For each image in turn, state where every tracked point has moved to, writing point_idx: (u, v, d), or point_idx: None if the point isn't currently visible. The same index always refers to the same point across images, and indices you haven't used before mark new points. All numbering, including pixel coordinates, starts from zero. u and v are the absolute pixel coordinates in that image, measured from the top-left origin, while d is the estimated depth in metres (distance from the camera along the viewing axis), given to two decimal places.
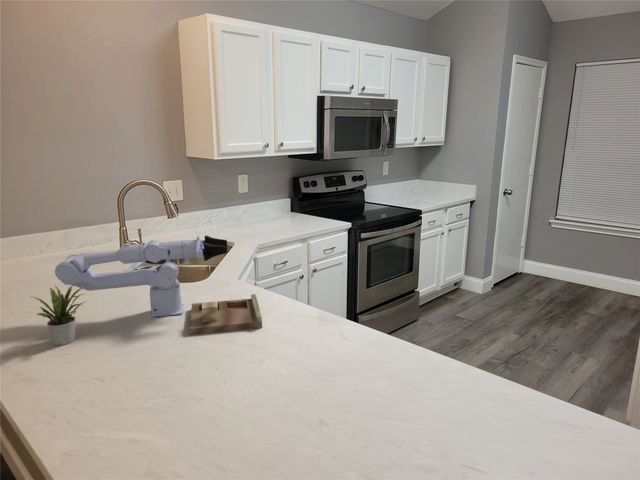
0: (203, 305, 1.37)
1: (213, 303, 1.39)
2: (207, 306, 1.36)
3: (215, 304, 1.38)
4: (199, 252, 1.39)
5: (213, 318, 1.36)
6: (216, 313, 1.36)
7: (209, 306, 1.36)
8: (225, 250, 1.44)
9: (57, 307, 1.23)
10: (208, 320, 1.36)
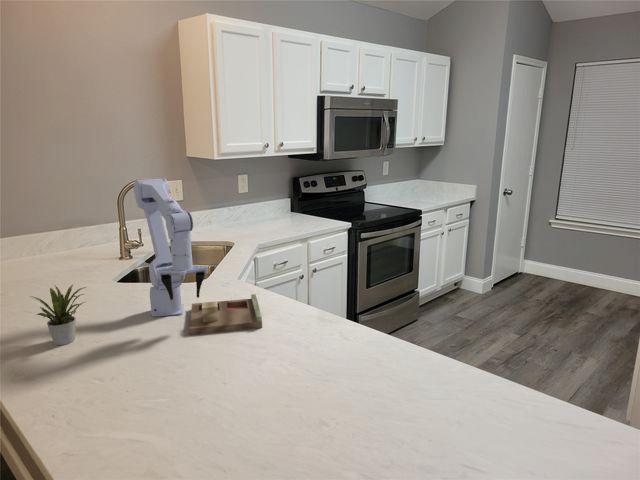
0: (203, 305, 1.37)
1: (213, 303, 1.39)
2: (207, 306, 1.36)
3: (215, 304, 1.38)
4: (156, 273, 1.31)
5: (213, 318, 1.36)
6: (216, 313, 1.36)
7: (209, 306, 1.36)
8: None
9: (57, 307, 1.23)
10: (208, 320, 1.36)
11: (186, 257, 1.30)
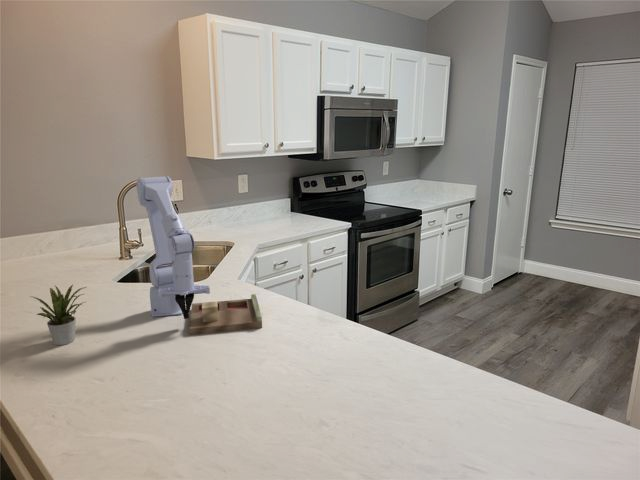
0: (203, 305, 1.37)
1: (213, 303, 1.39)
2: (207, 306, 1.36)
3: (215, 304, 1.38)
4: (158, 294, 1.33)
5: (213, 318, 1.36)
6: (216, 313, 1.36)
7: (209, 306, 1.36)
8: None
9: (57, 307, 1.23)
10: (208, 320, 1.36)
11: (188, 278, 1.32)
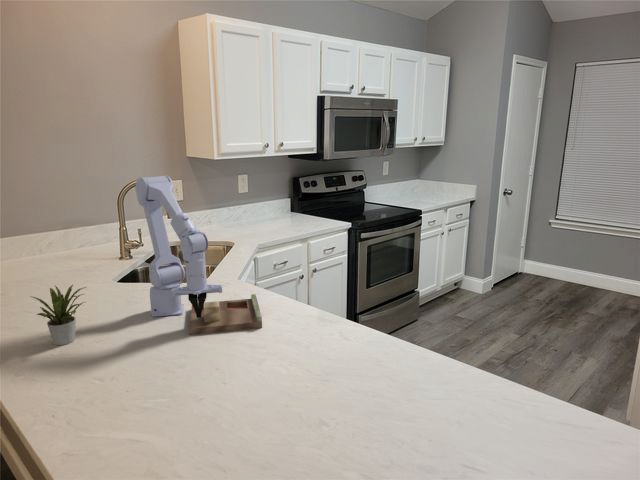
0: (205, 305, 1.37)
1: (215, 303, 1.39)
2: (209, 305, 1.36)
3: (217, 304, 1.38)
4: (171, 293, 1.33)
5: (215, 318, 1.37)
6: (218, 313, 1.36)
7: (211, 306, 1.36)
8: None
9: (57, 307, 1.23)
10: (210, 320, 1.36)
11: (201, 277, 1.33)
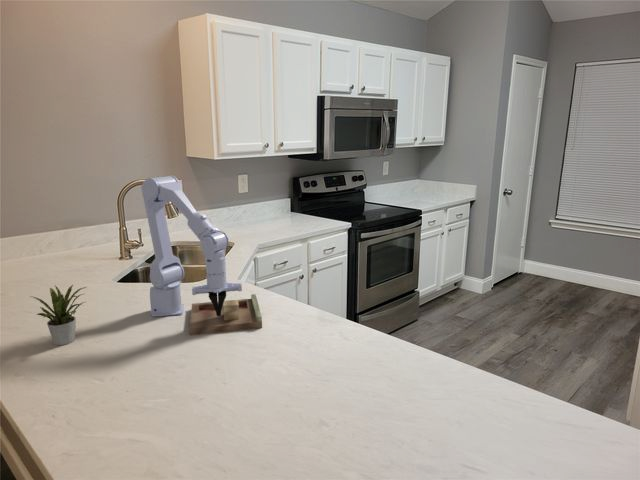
0: (224, 303, 1.38)
1: (234, 301, 1.40)
2: (229, 304, 1.38)
3: (236, 302, 1.39)
4: (192, 291, 1.35)
5: (234, 316, 1.38)
6: (237, 311, 1.38)
7: (230, 304, 1.38)
8: None
9: (57, 307, 1.23)
10: (229, 318, 1.38)
11: (221, 276, 1.34)
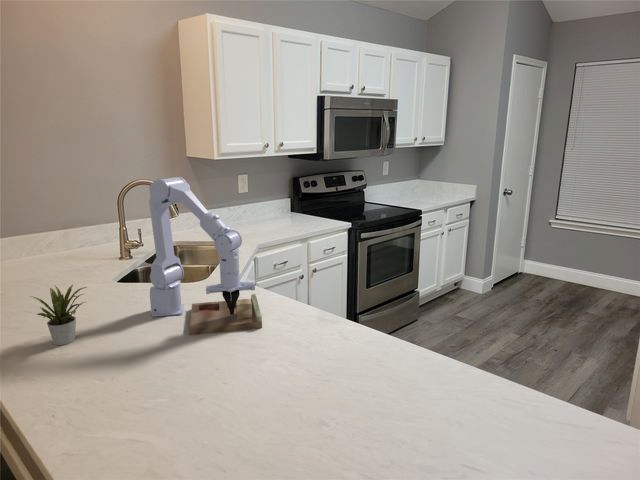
0: (237, 302, 1.39)
1: (247, 300, 1.41)
2: (242, 303, 1.39)
3: (249, 301, 1.40)
4: (206, 290, 1.36)
5: (247, 315, 1.39)
6: (250, 310, 1.39)
7: (244, 303, 1.39)
8: None
9: (57, 307, 1.23)
10: (242, 317, 1.38)
11: (235, 275, 1.35)
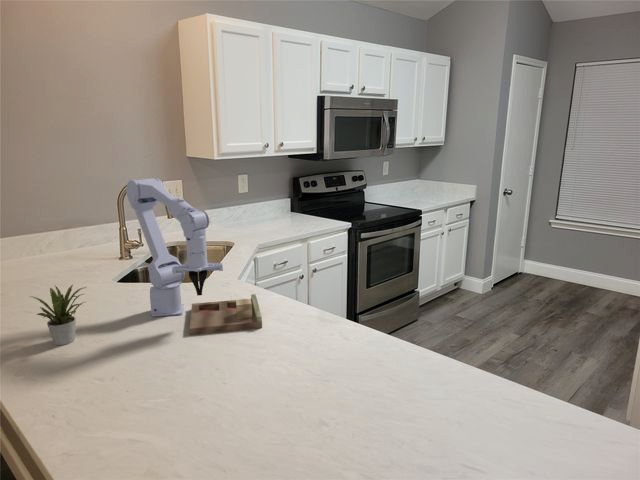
0: (237, 302, 1.39)
1: (247, 300, 1.41)
2: (242, 303, 1.39)
3: (249, 301, 1.40)
4: None
5: (247, 315, 1.39)
6: (250, 310, 1.39)
7: (244, 303, 1.39)
8: None
9: (57, 307, 1.23)
10: (242, 317, 1.38)
11: (201, 255, 1.33)
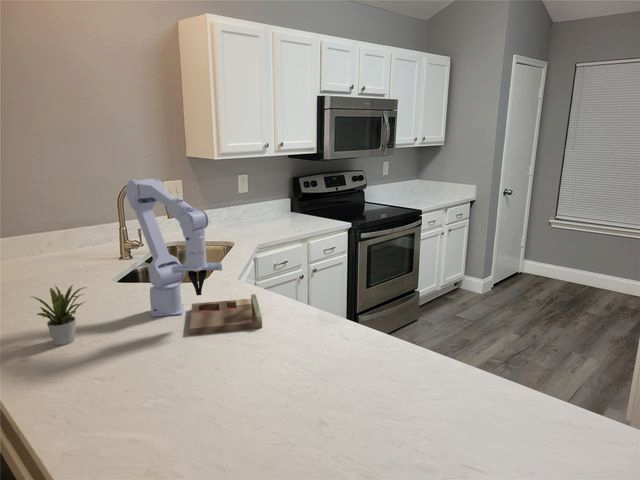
0: (237, 302, 1.39)
1: (247, 300, 1.41)
2: (242, 303, 1.39)
3: (249, 301, 1.40)
4: (171, 270, 1.34)
5: (247, 315, 1.39)
6: (250, 310, 1.39)
7: (244, 303, 1.39)
8: None
9: (57, 307, 1.23)
10: (242, 317, 1.38)
11: (200, 254, 1.33)
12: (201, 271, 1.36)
